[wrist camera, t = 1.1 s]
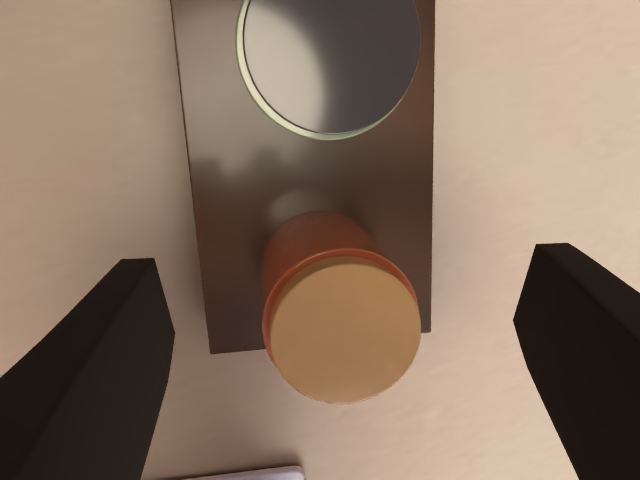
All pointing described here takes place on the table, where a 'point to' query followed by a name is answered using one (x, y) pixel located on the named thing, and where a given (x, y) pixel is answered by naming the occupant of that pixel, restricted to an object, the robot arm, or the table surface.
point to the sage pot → (327, 61)
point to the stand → (292, 172)
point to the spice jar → (336, 309)
